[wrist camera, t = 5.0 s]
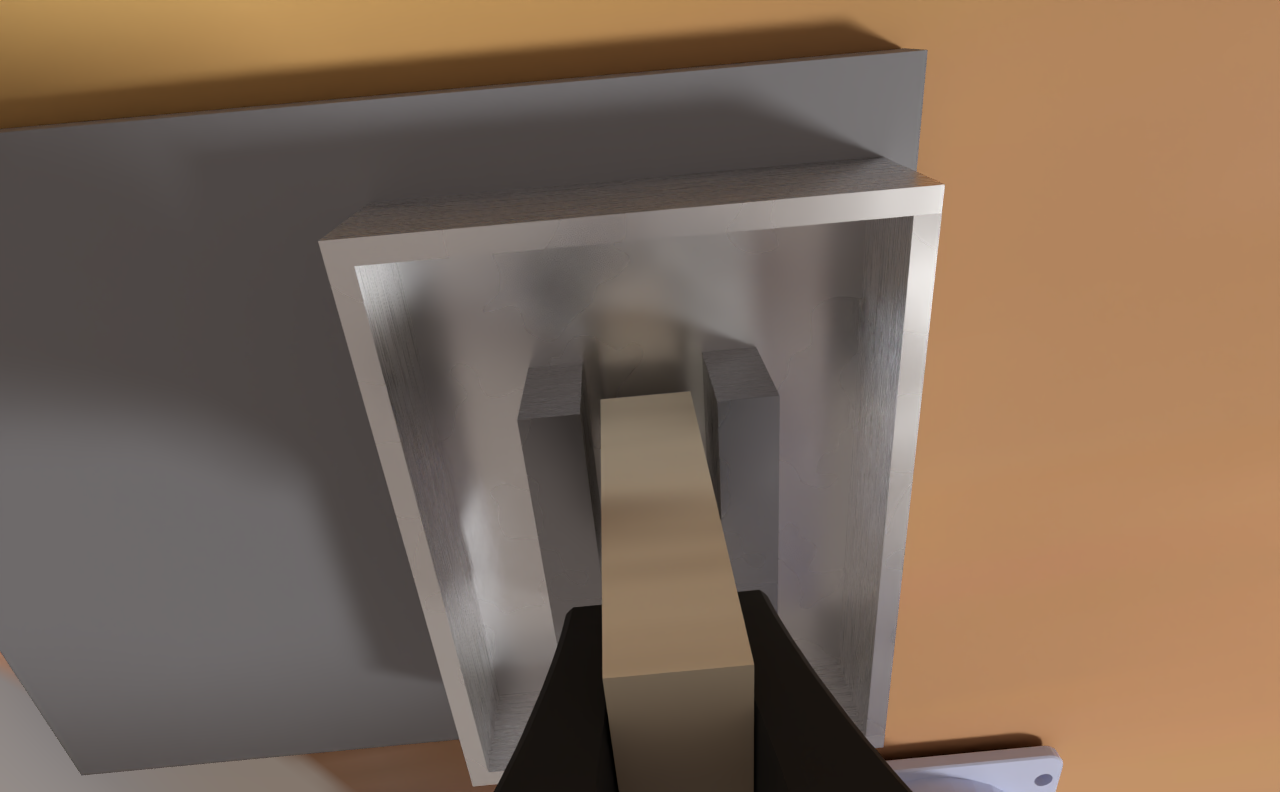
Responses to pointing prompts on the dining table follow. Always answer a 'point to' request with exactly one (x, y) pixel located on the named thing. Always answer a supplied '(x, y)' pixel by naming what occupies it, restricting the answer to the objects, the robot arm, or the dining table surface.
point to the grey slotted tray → (635, 366)
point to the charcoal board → (284, 384)
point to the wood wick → (670, 608)
